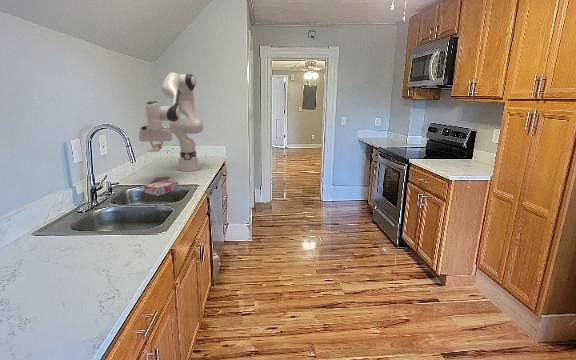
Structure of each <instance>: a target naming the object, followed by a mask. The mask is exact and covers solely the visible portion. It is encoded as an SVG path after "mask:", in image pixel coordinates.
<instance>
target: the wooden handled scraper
mask: <svg viewBox="0 0 576 360" xmlns="http://www.w3.org/2000/svg"><path fill="white" fill-rule="evenodd" d="M159 145H161V143H156V144H153V148H149V149H147V150H146V151H147V153H154V152H155V153H157V152H160V151H161V150H162V149H163V147H162V148H159Z"/></svg>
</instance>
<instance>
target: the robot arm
mask: <svg viewBox="0 0 576 360" xmlns="http://www.w3.org/2000/svg"><path fill="white" fill-rule="evenodd" d="M196 85H197V80H196V77H195V76H194V75H193V74H192V73H182V74H178V73H177V72H174V71H171V72H169V73H168V74H167V75H166V76H165V78H164V80H163V82H162V85H161V92H162V93H163V94H164V96H165V97H166V98H168V99H173V100H172V105H161V104H160V102H159V101H157V100H151V101H147V102H146V103H145V116H146V120H147V121H146V122H147V124H144V125H142V126H140V127H139V132H138V133H139V134H138V136H139V138H138V139H139V141H140V142H149V144H150V145H151V149H153V145H154V144H153V142H160V143H159V144H161V145H159V148H162V149H163V144H164V142H171V141H172V140H173V135H175V137H176V139H177V140H178V143H179V149H180V151H179V155H180V158H178V167H177V168H176V170H177V171H182V172H192V171H197V170H202V165H201V164H200V162H199V158H198V157H197V150H196V143H195V140H194V139H193V138H190V137H189V136H188V134H190V135H191V134H192V135H193V134H194V135H195V134H199V133H202V132H203V130H204V123H203V121H202V120H201V119H200V118H198V117H197V115H196V112H195V96H194V89H195V87H196ZM181 115H183V116H184V117H186V118H180V117H181ZM163 121H164V122H169V123H168V126H163V124H162V123H163Z"/></svg>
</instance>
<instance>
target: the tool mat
mask: <svg viewBox="0 0 576 360" xmlns="http://www.w3.org/2000/svg"><path fill="white" fill-rule="evenodd" d="M163 180H169V181H170V180H171V176H160V177H159V176H157V177H155V178H154V179H153V180H152V181H151V182H150V183H149V184H153V183H156V182H160V181H163Z"/></svg>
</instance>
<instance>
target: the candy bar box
mask: <svg viewBox="0 0 576 360" xmlns="http://www.w3.org/2000/svg"><path fill="white" fill-rule="evenodd" d="M179 187H180V186H179V182H178V181H174V180H170V179H169V180H163V181H160V182H156V183H153V184H150V183H149V184H146V185H144V193H145V194H148V195H151V196H152V195H153V196H157V197H159V196H162V195H164V194H168V193H171V192H173V191H174V190H175V191H176V190H178V189H180V188H179Z"/></svg>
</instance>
